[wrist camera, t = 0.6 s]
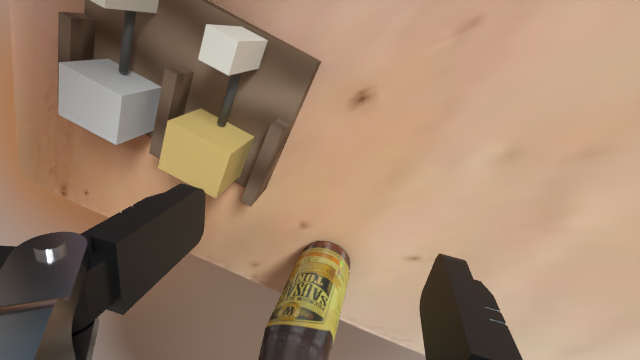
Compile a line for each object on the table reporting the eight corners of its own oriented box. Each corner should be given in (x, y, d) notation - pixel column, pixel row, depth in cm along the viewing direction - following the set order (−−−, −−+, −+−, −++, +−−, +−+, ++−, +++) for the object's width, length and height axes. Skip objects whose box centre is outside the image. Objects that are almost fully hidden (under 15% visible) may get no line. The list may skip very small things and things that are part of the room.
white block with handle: (117, -41, 26) (52, -59, 21) (179, -8, 26) (129, -18, 21) (104, 103, 32) (53, 115, 27) (154, 130, 32) (111, 146, 27)
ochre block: (224, 16, 26) (183, 12, 21) (286, 50, 26) (261, 53, 21) (190, 150, 32) (152, 171, 27) (239, 176, 32) (211, 202, 27)
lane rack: (103, -55, 27) (59, -69, 23) (321, 61, 27) (310, 65, 24) (92, 97, 34) (57, 104, 30) (265, 189, 34) (250, 206, 31)
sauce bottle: (345, 235, 34) (294, 440, 17) (356, 277, 37) (323, 497, 19) (292, 240, 36) (198, 429, 19) (307, 280, 39) (235, 482, 21)
